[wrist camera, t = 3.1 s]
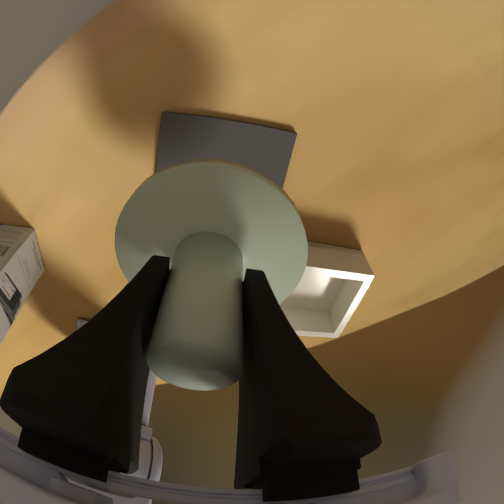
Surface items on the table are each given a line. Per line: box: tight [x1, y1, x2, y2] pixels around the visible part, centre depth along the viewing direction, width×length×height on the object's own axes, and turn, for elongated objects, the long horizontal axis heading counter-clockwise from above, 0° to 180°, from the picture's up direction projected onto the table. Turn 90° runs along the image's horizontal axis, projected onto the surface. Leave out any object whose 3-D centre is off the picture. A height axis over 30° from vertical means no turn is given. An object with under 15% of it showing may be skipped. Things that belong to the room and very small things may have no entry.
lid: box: [115, 159, 308, 390], centre depth 10 cm, size 8×8×6 cm
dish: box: [279, 241, 375, 338], centre depth 22 cm, size 7×7×3 cm
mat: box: [157, 112, 297, 188], centre depth 18 cm, size 8×8×1 cm
